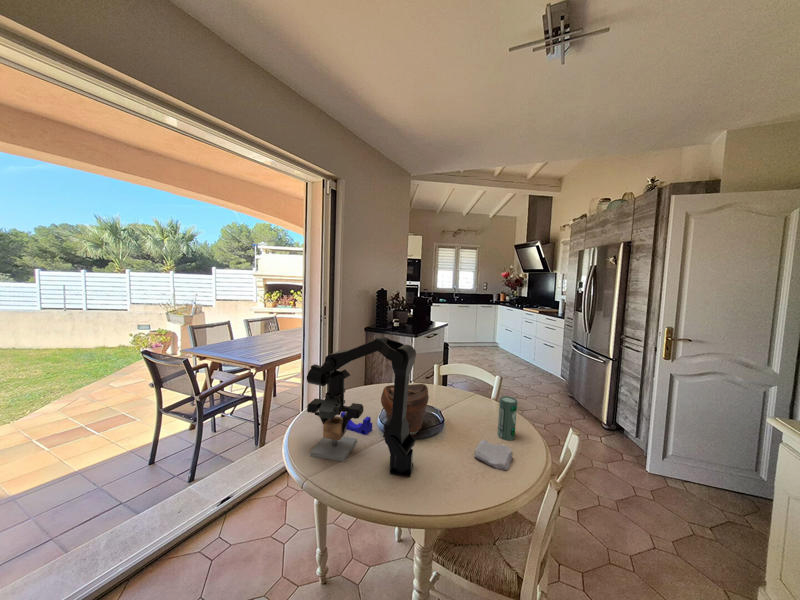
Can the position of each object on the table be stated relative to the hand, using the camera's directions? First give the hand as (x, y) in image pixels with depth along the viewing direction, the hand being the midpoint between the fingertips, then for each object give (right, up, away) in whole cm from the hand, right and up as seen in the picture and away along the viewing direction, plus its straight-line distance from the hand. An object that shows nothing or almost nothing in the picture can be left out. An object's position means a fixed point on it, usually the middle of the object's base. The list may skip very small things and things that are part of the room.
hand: (335, 431), depth 105 cm
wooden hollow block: (0, -1, 0) cm, 1 cm away
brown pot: (+24, -6, +16) cm, 30 cm away
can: (+64, -8, +13) cm, 66 cm away
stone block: (+54, -9, -2) cm, 55 cm away
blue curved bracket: (+5, -6, +15) cm, 17 cm away
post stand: (0, -6, +1) cm, 6 cm away
